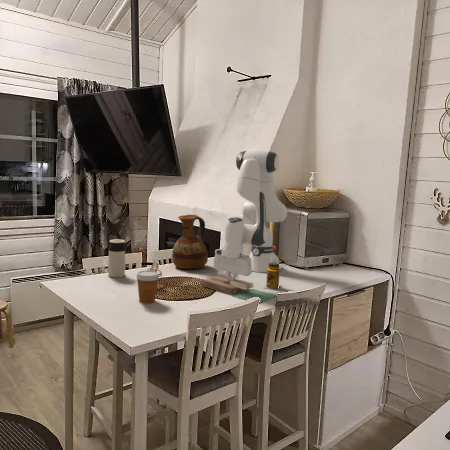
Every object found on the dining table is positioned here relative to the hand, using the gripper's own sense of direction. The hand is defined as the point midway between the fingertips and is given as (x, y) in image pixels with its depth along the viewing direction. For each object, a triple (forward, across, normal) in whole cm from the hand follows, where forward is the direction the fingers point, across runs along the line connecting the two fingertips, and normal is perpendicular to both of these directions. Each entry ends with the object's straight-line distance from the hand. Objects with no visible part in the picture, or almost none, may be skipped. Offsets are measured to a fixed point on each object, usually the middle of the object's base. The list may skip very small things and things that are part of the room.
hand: (231, 281), depth 198 cm
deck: (+4, +4, 0) cm, 5 cm away
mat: (+4, -14, 0) cm, 14 cm away
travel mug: (+4, +54, +25) cm, 59 cm away
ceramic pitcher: (+4, +43, -17) cm, 46 cm away
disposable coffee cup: (+4, +13, +40) cm, 42 cm away
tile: (+1, -6, 0) cm, 6 cm away
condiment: (+4, -11, -19) cm, 23 cm away
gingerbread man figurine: (+4, +24, +26) cm, 36 cm away
